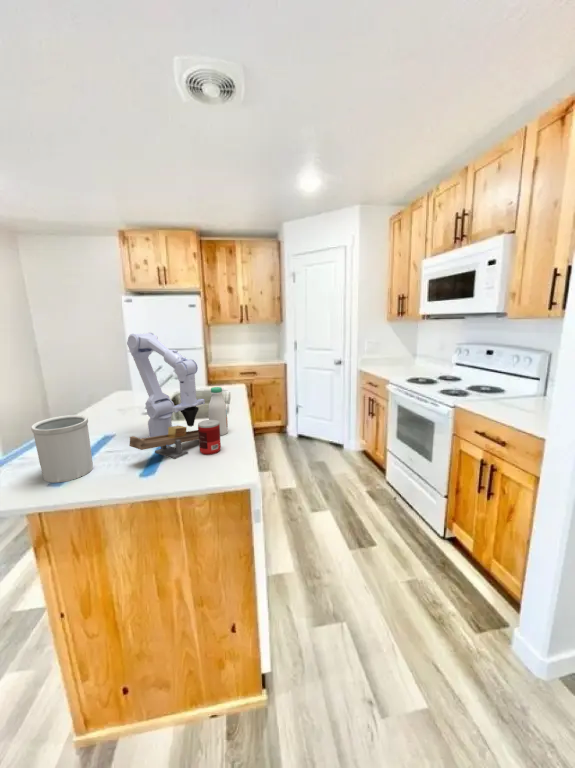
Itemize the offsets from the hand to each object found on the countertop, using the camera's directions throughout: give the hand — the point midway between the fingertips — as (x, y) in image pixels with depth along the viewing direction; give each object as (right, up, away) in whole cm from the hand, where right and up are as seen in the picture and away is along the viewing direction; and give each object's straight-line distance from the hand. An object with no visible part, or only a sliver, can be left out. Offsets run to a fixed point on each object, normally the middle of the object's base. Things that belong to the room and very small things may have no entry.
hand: (190, 425), depth 130 cm
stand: (-5, -9, -7) cm, 13 cm away
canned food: (+9, -9, -5) cm, 13 cm away
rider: (-4, -4, -5) cm, 7 cm away
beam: (-4, -5, -6) cm, 9 cm away
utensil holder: (-34, -13, -21) cm, 42 cm away
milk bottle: (+8, -5, +14) cm, 17 cm away
